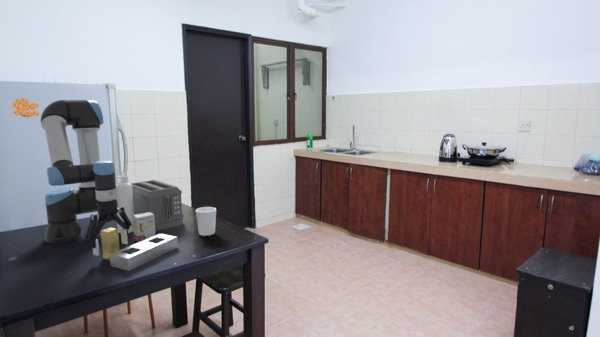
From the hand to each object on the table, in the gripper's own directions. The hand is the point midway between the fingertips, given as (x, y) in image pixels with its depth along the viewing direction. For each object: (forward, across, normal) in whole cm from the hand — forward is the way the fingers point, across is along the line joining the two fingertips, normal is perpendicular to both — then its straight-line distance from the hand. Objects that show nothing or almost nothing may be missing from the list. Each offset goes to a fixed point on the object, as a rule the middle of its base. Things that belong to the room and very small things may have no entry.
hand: (111, 249), depth 154 cm
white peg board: (+4, +7, -12) cm, 14 cm away
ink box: (+4, +22, +5) cm, 23 cm away
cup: (+4, +39, -18) cm, 43 cm away
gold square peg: (+4, 0, 0) cm, 4 cm away
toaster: (+4, +43, +21) cm, 48 cm away
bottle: (+4, +26, +22) cm, 34 cm away
